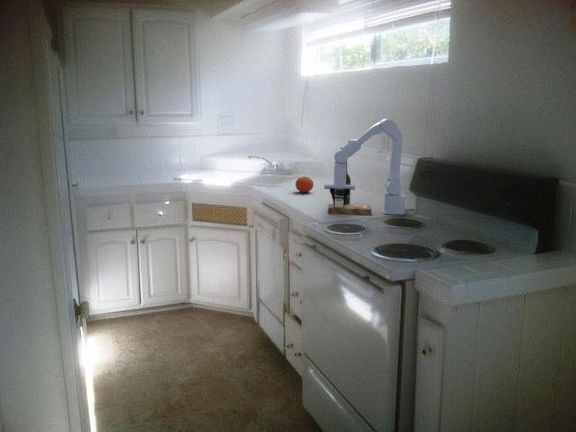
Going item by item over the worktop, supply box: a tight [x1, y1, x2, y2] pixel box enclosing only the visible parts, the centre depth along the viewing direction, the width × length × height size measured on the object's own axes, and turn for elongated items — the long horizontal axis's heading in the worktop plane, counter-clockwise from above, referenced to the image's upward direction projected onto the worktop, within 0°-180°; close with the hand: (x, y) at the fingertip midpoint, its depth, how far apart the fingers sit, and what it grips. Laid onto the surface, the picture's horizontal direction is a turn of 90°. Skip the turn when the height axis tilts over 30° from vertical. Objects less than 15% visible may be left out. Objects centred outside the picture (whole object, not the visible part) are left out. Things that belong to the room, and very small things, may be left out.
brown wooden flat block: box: [327, 203, 373, 216], centre depth 248 cm, size 20×10×3 cm, turn 85°
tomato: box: [295, 175, 314, 193], centre depth 298 cm, size 10×10×10 cm
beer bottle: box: [335, 158, 352, 205], centre depth 263 cm, size 8×8×24 cm
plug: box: [335, 199, 343, 207], centre depth 248 cm, size 4×4×6 cm
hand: (338, 204), depth 248 cm, fingers closed on plug, 4 cm apart
